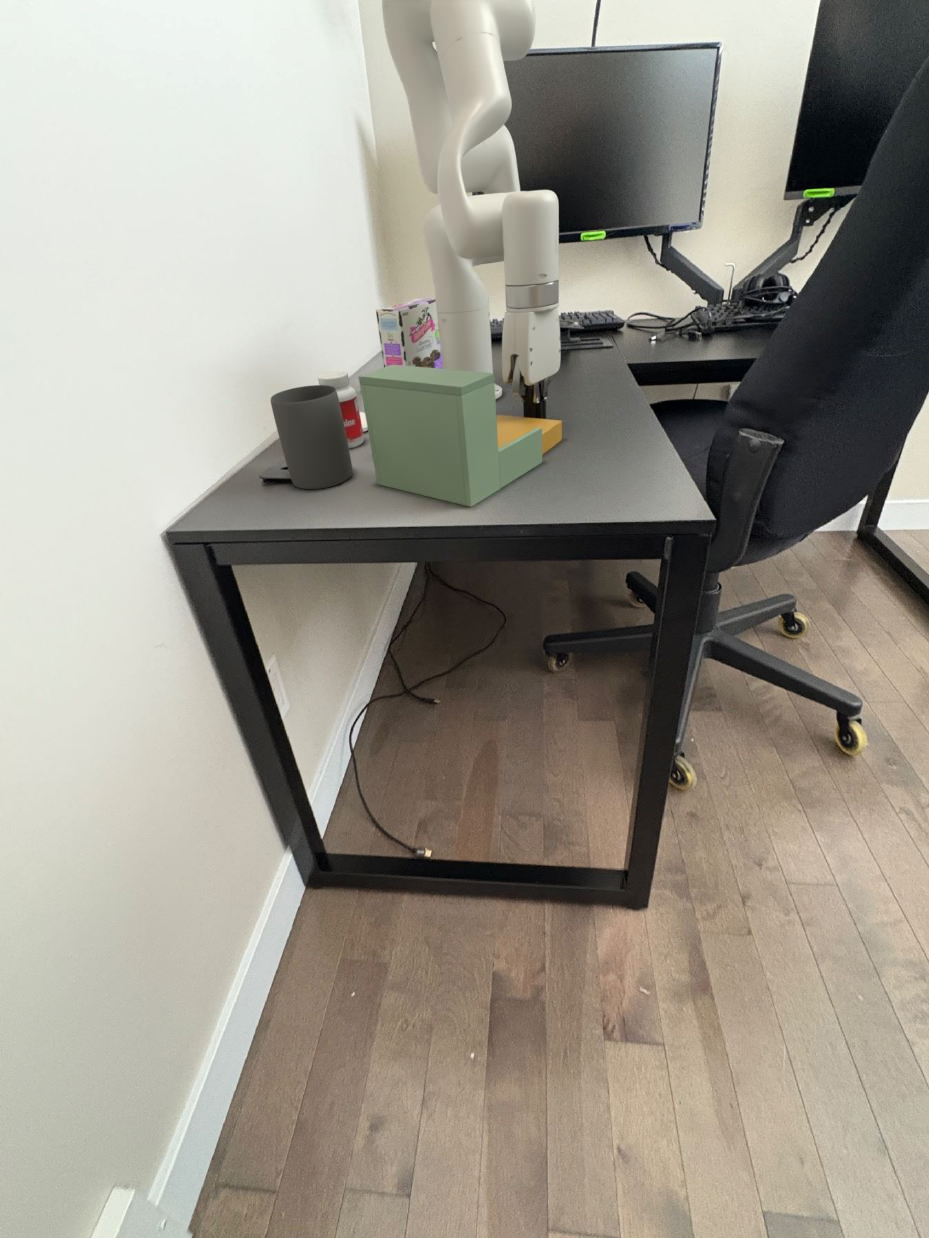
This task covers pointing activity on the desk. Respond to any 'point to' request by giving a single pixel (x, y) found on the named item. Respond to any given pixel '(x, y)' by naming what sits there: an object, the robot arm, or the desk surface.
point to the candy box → (410, 334)
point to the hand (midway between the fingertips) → (535, 426)
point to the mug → (312, 436)
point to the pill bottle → (346, 405)
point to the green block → (441, 433)
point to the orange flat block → (519, 426)
